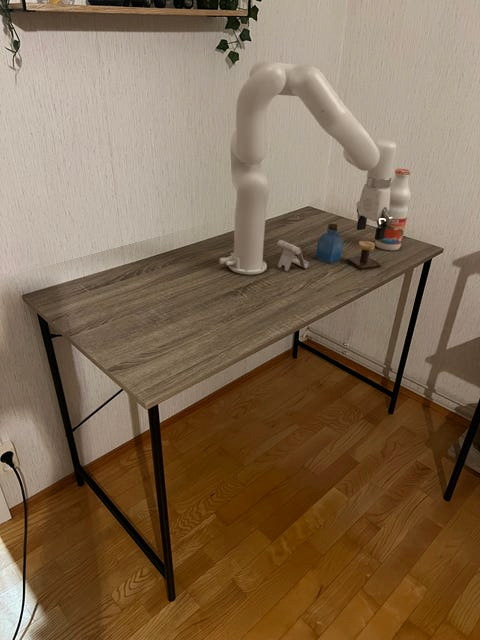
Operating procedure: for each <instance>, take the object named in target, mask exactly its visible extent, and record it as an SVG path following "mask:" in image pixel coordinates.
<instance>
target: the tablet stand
mask: <svg viewBox="0 0 480 640" xmlns="http://www.w3.org/2000/svg"><path fill="white" fill-rule="evenodd" d="M277 246H278V247H280V248H282V249H283V251H282V253H281V256H280V258H279V261H278V263H277V268H279V269H281V268H282V266H284V271H285V272H288V271H289V270H290V267H291V264H294V265H296V266H299V267H301V268H302V269H305V270H307V269H308V268H309V266H310V262H309V261H308V260H305V259H304V257H303V256H304V255H303V252H302V248H301V247H299V246H296V245H294V244H291V243H289V242H287V241H285V240H282V239H279V240H278V241H277ZM296 255H297V256H296Z"/></svg>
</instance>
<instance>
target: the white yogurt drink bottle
mask: <svg viewBox="0 0 480 640" xmlns="http://www.w3.org/2000/svg"><path fill="white" fill-rule="evenodd" d="M410 173H411V171H410V170H409V169H406V168H396V169H395V171H394V177H393V179H392V180H391V184H390V204H389V211H388V212H389V213H390V215H391V216H392V220H391V222H390V224H389V225H388V226H387V228H385V234H384V238H383V239H380V240H375V239H374V244H375V247H377V248H378V249H380V250H384V251H397V250H400V248H401V247H402V243H403V242H402V241H403V236H404V234H405V233H404V232H405V228H406V223H407V220H408V215H409V203H410V201H411V199H412V192H411V190H410V183H409V177H410ZM380 222H381V224H382V223H383V222H382V221H380Z"/></svg>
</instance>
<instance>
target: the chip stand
mask: <svg viewBox="0 0 480 640" xmlns="http://www.w3.org/2000/svg"><path fill="white" fill-rule="evenodd" d="M370 252H371V250H363V249H361V252H360V256H353V257H347V258H346V262H348V263H349V264H351V265H352V266H354V267H355V268H357V269H358V270H360V271H363V270H369V269H375V268H380V267H381V264H380V263H379V262H377V261H376V260H374V259H373V258H371V257H370Z"/></svg>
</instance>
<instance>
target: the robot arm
mask: <svg viewBox="0 0 480 640" xmlns="http://www.w3.org/2000/svg"><path fill="white" fill-rule="evenodd" d="M277 96H289V97H299V99H300V100H301V102H302V103H303V104H304V106H305V107H306V108H307V110H308V111H309V113H310V114H311V115H312V116H313V118H314V119H315V121H316V122H317V124H318V125H319V126H320V128H321V129H323V130H324V131H325V132H326V133H327V134H328V135H329V136H330V137H332V138H333V139H334V140H335V141H336V142H338V144H340V146H341V147H342V148H343V149H342V154H343V158H344V159H345V161H346V162H347V163H349V164H350V165H352V166H354V167H355V168H356V169H358V170H360V171H363V172H366V181H365V184H364V185H363V187H362V190H361V193H360V197H359V201H357V202H356V203H355V205H356V213H357V224H356V230H357V231H362V230H363V231H364V230H366V227H367V223H368V222H367V221H368V220H370V221H372V222H376V225H377V227H376V228H375V234H374V241H375V240H380V239H383V238H384V234H385V228H387V226H388V225H389V224H390V222H391V220H392V216H391V215H390V213H389V212H388V211H389V204H390V184H391V183H392V180H393V179H392V178H393V174H394V173H393V172H394V167H395V161H396V156H397V150H398V145H397V142H395V141H392V140H387V139H377V140H373V138H372V137H371V136H370V134H369V133H368V132H367V130H366V129H365V128H364V127H363V126H362V124H361V123H360V122H359V121H358V120H357V119H356V117H355V116H354V115H353V114H352V111H350V110H349V109H348V108H347V106H346V105H345V104H344V102H343V101H342V100H341V98H340V96H339V95H338V93H337V92H336V91H335V90H334V88H333V86H332V85H331V84H330V82H329V81H328V79H327V78H326V76H325V74H323V72H322V71H321V70H320V69H318V67H316V66H312V65H307V64H296V63H287V62H277V61H269V60H262V61H259V62H257V63H254V64H253V66H251V69H250V71H249V75H248V78H247V80H245V82H244V84H243V85H242V87H241V89H240V91H239V93H238V96H237V99H236V106H235V107H236V108H235V130H234V132H233V133H232V135H231V138H230V145H229V146H230V171H231V172H230V173H231V180H232V184H233V186H234V189H235V191H236V199H235V207H234V208H235V209H234V210H235V211H234V231H233V232H234V233H233V234H234V236H233V252H230V255H228V256H227V257H220V258H219V259H218V261H219V264H220V265H224V264H225V265H226V267H228V268H229V270H230V271H232V272H234V273H236V274H240V275H246V276H247V275H249V276H251V275H253V276H254V275H259V274H261V273H264V272H265V271H266V270H267V268H268V264H267V263H266V261H265V260H263V259H264V245H265V230H266V217H267V216H266V215H267V206H268V200H269V195H270V182H269V181H268V178H267V176H266V175H265V173H264V172H263V171H262V161H263V160H264V159H265V157H266V154H267V111H268V107H269V105H270V103H271V101H272V100H273V99H274V98H275V97H277ZM380 221H382V222H383V223H382V224H381V222H380Z"/></svg>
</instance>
